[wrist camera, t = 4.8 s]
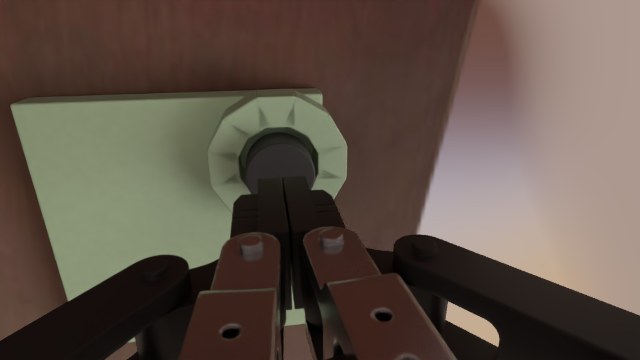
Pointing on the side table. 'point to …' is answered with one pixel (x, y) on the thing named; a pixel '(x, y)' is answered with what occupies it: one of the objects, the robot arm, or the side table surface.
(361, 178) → the side table surface
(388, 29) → the side table surface
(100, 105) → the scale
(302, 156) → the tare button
